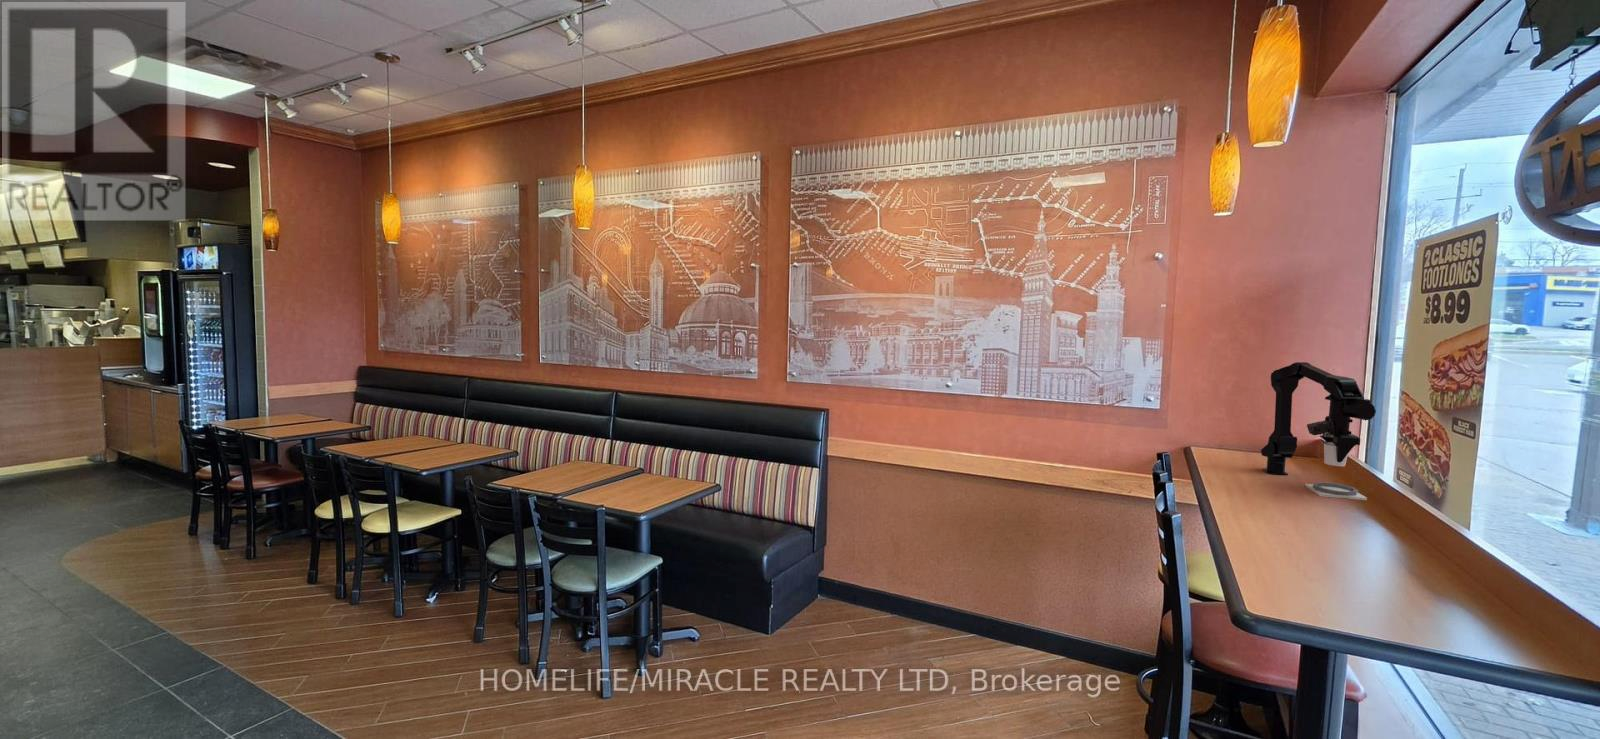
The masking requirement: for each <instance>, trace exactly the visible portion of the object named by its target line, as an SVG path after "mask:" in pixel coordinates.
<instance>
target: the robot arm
mask: <svg viewBox="0 0 1600 739" xmlns="http://www.w3.org/2000/svg"><path fill="white" fill-rule="evenodd" d="M1304 378H1307V379H1309V380H1311V381H1313V382H1314V383H1317V384H1320V385H1321V386H1322V387H1323V389H1324V390H1325V391H1326V392H1327V393H1329V395H1327V396H1325V397H1324V400H1327V401H1329V408H1328V409H1329V410H1328V415H1326V416H1325V417H1324V420H1319V421H1316V422H1312V423H1307V424H1306V427H1307V430H1308V434H1310V435H1312V436H1319V437H1320V438H1321V439H1322V440H1323V441H1324V443H1325V442H1332V443H1333V444H1334V445H1335V446H1336V456H1337V462H1342V461H1343V459H1344V458H1345V457H1346V455H1347V454H1348V455H1349V453H1350V452H1351V451H1352V449H1353V448H1354V447H1356V446H1360V445H1361V438H1360V437H1359V436H1357V435H1355V434H1353V433H1352V430H1351V431H1350V424H1351V423H1353V420H1354V419H1358V420H1363V421H1370V420H1371V419H1373V418H1374V417H1375V416H1376V411H1377V410H1376V408H1375V406H1374V405H1373V404H1372V403H1371V399H1370V398H1369V399H1368V398H1365V396H1364V394H1363V393H1362V391H1361V390H1360V387H1359V385H1358V384H1357V381H1356V380H1355V379H1354V378H1352V377H1349V376H1341V375H1335V374H1333V373H1331V372H1327V371H1326V370H1323V369H1322V368H1319V367H1316V366H1315V365H1313V364H1311V363H1309V362H1307V361H1306V362H1305V361H1303V362H1302V361H1300V362H1298V361H1296V362H1293V363H1291V364H1289V365H1286V366H1283V367H1281V368H1279V369H1274V371H1272V372H1271V374H1270V385H1271V387H1272V389H1273V390H1274V393H1275V407H1274V426H1273V427H1274V428H1273V431H1272V433H1271V434H1270V435H1269V437H1268V442H1267V444H1266V445H1265V446H1263V448H1261V449H1260V452H1261V456H1264V457H1265V458H1266V460H1267V461H1266V468H1264V467H1263V468H1262V470H1263V471H1265V472H1266V473H1267V474H1269V475H1270V474H1272V475H1273V474H1274V475H1282V476H1283V475H1284V476H1288V475H1289V473H1288V472H1287V471H1286V461H1287V459H1293V456H1294V454H1295V452H1296V450H1297V448H1298V437H1297V436H1294V435H1293V434H1292V433H1293V432H1292V431H1291V430H1292V411H1293V410H1292V406H1293V393H1294V392H1295V391H1296V390H1297V389H1298V387H1299V382H1300V381H1301V380H1302V379H1304ZM1352 418H1353V419H1352Z"/></svg>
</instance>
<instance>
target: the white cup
mask: <svg viewBox="0 0 1600 739" xmlns="http://www.w3.org/2000/svg"><path fill="white" fill-rule="evenodd" d="M1348 456H1349V453H1348V454H1347V455H1346V457H1345V458H1344V459H1343V461H1342V462H1337V456H1336V446H1335V445H1334V444H1333V443H1332V442H1325V441H1324V442H1323V462H1324V464H1325V465H1328V466H1333V467H1346V463H1347V459H1348Z"/></svg>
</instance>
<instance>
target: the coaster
mask: <svg viewBox="0 0 1600 739" xmlns="http://www.w3.org/2000/svg"><path fill="white" fill-rule="evenodd" d="M1304 487H1306V488H1307V489H1309V490H1310V491H1312V492H1313V493H1314V494H1315V495H1317V496H1319V497H1324V498H1325V497H1326V498H1335V499H1346V498H1347V499H1348V500H1356V501H1357V500H1359V501H1368V497H1366V496H1365V495H1363V494H1361V493H1360V492H1359V489H1357V488H1355V487H1353V486H1349V485H1346V484H1340V483H1335V482H1325V481H1324V482H1314V483H1304Z"/></svg>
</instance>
